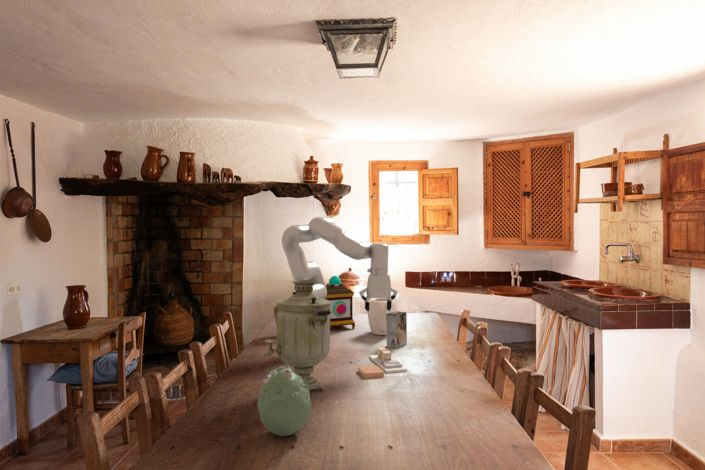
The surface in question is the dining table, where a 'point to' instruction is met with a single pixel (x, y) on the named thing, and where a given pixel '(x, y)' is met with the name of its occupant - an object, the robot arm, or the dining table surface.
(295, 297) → the samovar
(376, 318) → the white faceted vase
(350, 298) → the decorative lantern
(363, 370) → the tile
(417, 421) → the dining table surface
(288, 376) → the pale green egg shape
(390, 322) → the coffee box
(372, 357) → the board
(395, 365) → the turner
